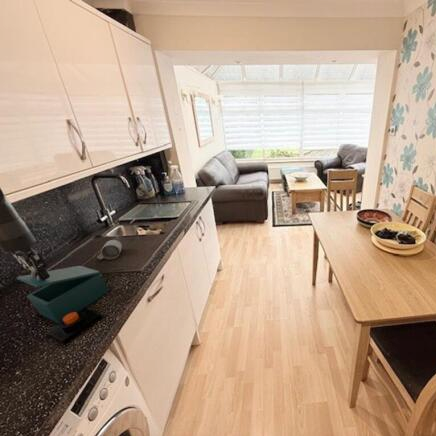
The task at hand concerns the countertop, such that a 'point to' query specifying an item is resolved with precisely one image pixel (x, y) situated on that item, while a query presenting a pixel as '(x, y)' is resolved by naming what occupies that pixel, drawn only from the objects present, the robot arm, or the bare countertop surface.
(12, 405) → the countertop surface
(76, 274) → the bin lid
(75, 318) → the button
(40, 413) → the countertop surface
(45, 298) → the bin
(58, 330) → the panel
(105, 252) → the ceramic mug
